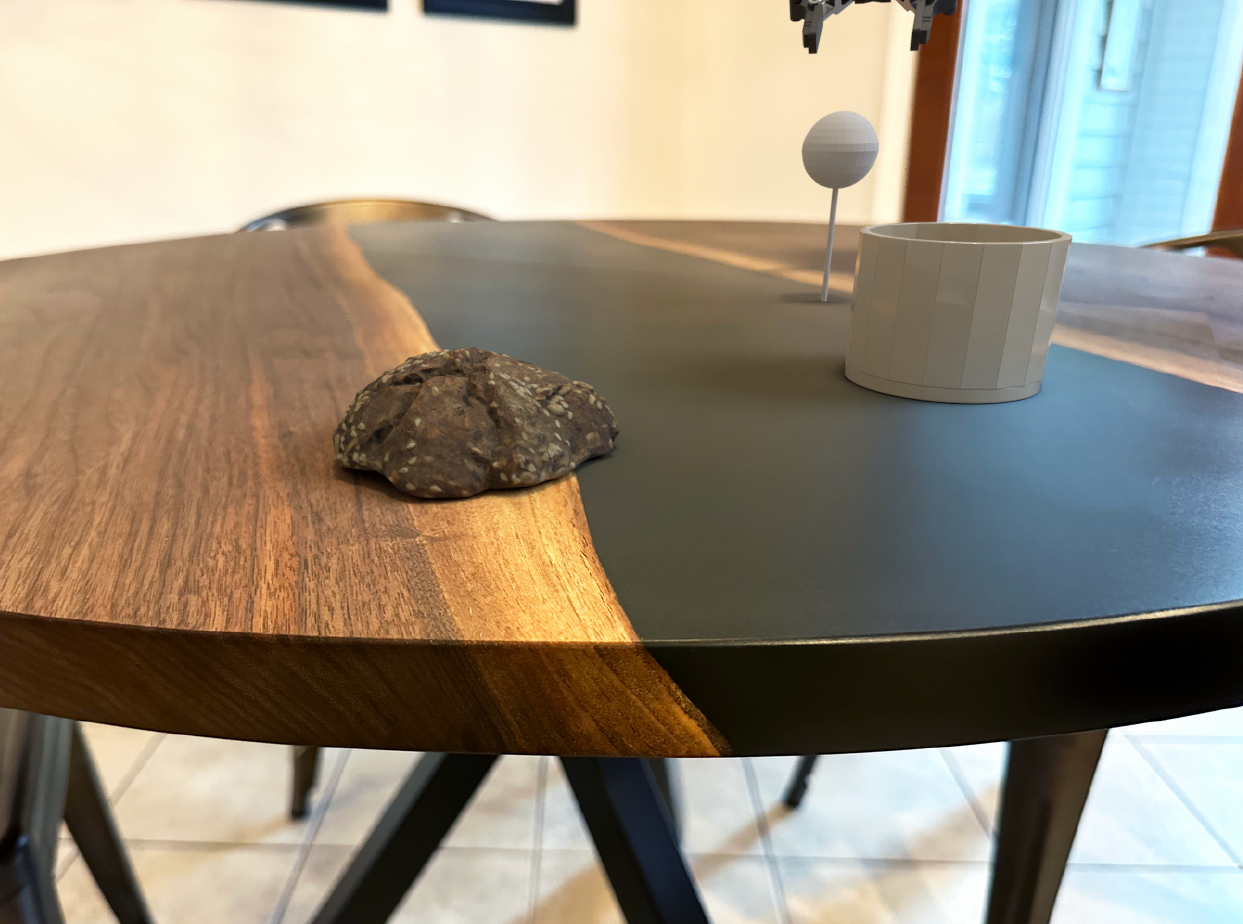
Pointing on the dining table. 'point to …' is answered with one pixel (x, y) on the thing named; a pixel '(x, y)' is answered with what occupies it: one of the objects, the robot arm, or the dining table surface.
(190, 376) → the dining table surface
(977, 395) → the white plant pot
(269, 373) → the dining table surface
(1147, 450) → the dining table surface
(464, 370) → the bread roll
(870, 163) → the lollipop
